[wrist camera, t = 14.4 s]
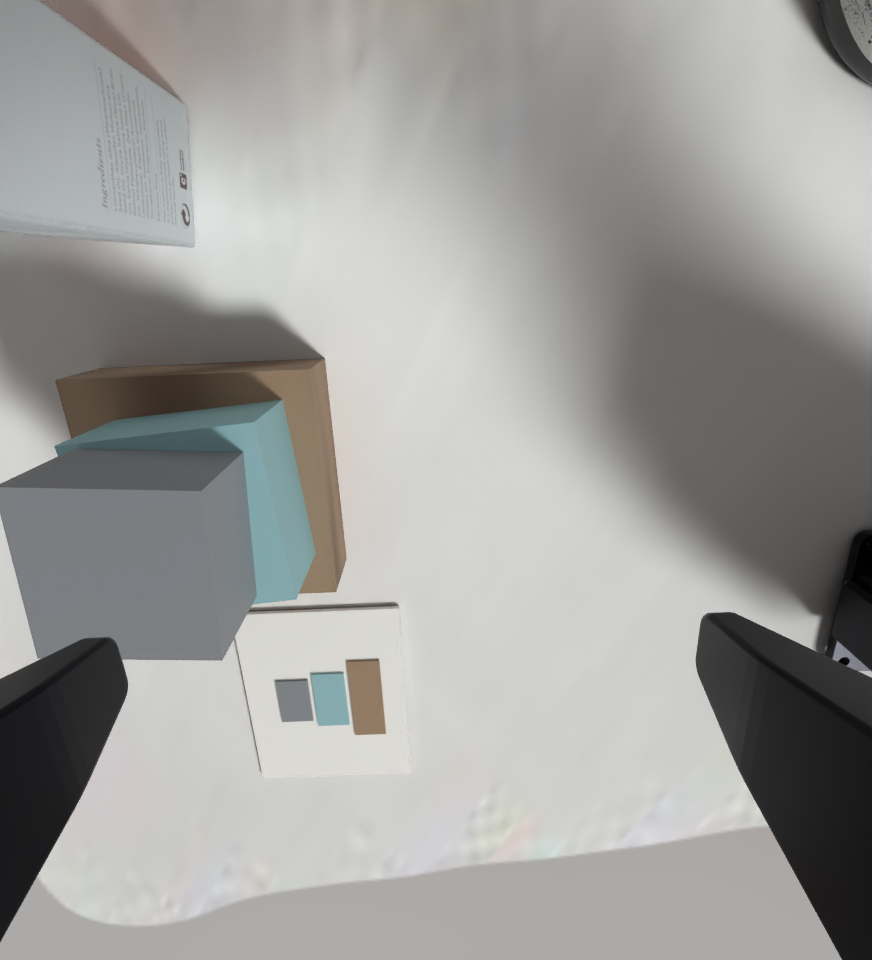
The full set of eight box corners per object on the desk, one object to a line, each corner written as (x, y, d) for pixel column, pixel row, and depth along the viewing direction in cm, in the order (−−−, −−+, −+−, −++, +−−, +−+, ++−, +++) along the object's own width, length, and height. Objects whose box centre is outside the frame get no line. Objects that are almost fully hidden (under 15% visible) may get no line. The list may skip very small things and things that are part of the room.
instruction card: (398, 605, 23) (398, 609, 23) (411, 769, 26) (411, 774, 26) (232, 612, 23) (229, 616, 23) (264, 774, 26) (262, 780, 26)
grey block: (243, 452, 15) (201, 490, 12) (256, 596, 17) (222, 660, 14) (75, 448, 15) (-7, 487, 12) (104, 593, 16) (37, 658, 14)
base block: (326, 356, 20) (309, 369, 17) (347, 553, 23) (336, 592, 20) (108, 366, 20) (55, 379, 17) (155, 561, 23) (116, 600, 20)
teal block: (282, 399, 18) (254, 421, 15) (316, 553, 19) (296, 599, 17) (114, 420, 18) (54, 446, 15) (163, 570, 20) (118, 619, 17)
